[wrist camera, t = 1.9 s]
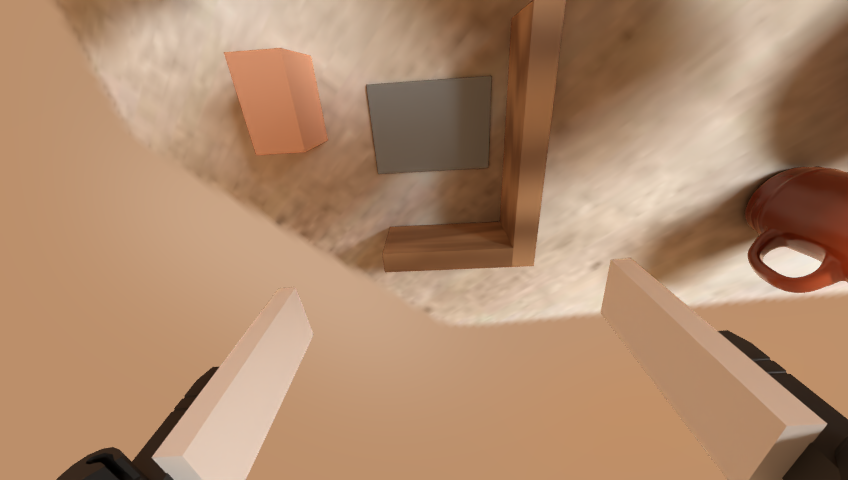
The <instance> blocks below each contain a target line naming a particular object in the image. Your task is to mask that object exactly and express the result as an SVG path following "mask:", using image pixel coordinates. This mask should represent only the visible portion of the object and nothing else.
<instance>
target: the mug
mask: <svg viewBox="0 0 848 480" xmlns="http://www.w3.org/2000/svg"><path fill="white" fill-rule="evenodd" d="M745 217H746V221H747V223H748V224H749V226H750V227H751V228H752V229H754V230H755V231H756V232H757V233H759V234H760V235H759V236H758V237H757V238H756V240H755V241H754V242H753V244H752V245H751V247H750V248H749V251H748V260H749V263H750V265H751V267H752V269H753V270H754V271H755V273H756V274H757V275H758V276H759V277H761V278H762V279H763V280H765V281H766V282H767V283H769V284H771V285H772V286H774V287H776V288H779V289H781V290H784V291H788V292H794V293H805V292H811V291H815V290H818V289H821V288H823V287H826V286H829V285H832V284H834V283H837V282H839V281H846V282H848V172H844V171H841V170H838V169H833V168H824V167H820V166H816V167H797V168H792V169H789V170H785V171H783V172H781V173H778V174H777V175H775V176H773V177H771V178H770V179H768V180H767V181H766V182H764V183H763V184H762V185H761V186H760V187H759V188H758V189H757V190H756V191H755V192H754V193H753V195H752V196H751V198H750V200H749V202H748V204H747V206H746V210H745ZM779 247H788V248H790V249H792V250H795V251H797V252H800V253H802V254H805V255H808V256H810V257H812V258H815V259H817V260H819V261H821V262H822V263H821V265H820V267H819V268H818V269H817V270H816V271H815V272H813V273H811V274H809V275H807V276H803V277H798V278H790V277H786V276H783V275H781V274H779V273H777V272H776V271H774V270H772V269H771V268H770V267H768V266H767V265H766V264H765V263H764V262H763V257H764V256H765V255H766V254H767V253H768V252H769V251H771V250H773V249H776V248H779Z"/></svg>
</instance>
